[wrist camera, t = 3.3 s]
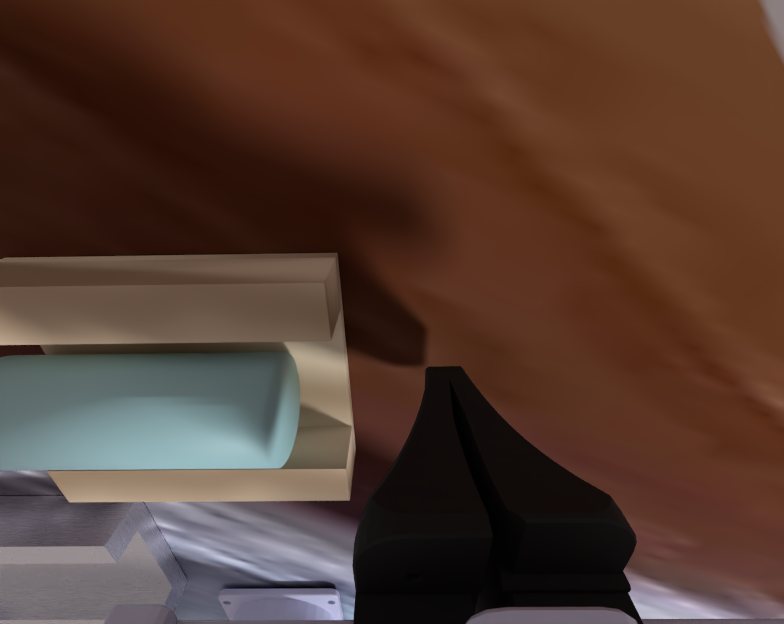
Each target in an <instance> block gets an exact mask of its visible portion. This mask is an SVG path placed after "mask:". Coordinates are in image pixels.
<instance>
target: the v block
mask: <svg viewBox="0 0 784 624" xmlns="http://www.w3.org/2000/svg"><path fill="white" fill-rule="evenodd" d="M187 582H188V580H187V578H186V577H185V575H184V573H183V571H182V570H181V568H180V566H179V564H178V563H177V561H176V559H175V557H174V555H173V554H172V552H171V550H170V548H169V547H168V545H167V543H166V541H165V540H164V538H163V536H162V534H161V532H160V531H159V529H158V527H157V525H156V524H155V522H154V520H153V518H152V516H151V515H150V513H149V511H148V509H147V508H146V506H145V504H144V502H69V501H68V500H67V499H66V497H65V496H0V624H104V622H105V620H106V619H107V617H108V615H109V613H110V612H111V610H112V608H113V607H114V606H116V605H118V604H159V605H164V606H167V607H169V608H171V609H172V610H173V611H175V609H176V606H177V604H178V602H179V600H180V598H181V595H182V593H183V591H184V589H185V587H186V584H187Z"/></svg>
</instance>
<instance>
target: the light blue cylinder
mask: <svg viewBox="0 0 784 624" xmlns="http://www.w3.org/2000/svg"><path fill="white" fill-rule="evenodd" d="M299 412H300V383H299V375H298V370H297V366H296V363H295V360H294V358H293V356H292V355H291V354H290V353H288V352H250V353H162V354H74V355H11V356H5V357H0V471H6V470H139V469H272V468H281V467H282V466H283V465H284V464H285V463H286V462H287V460H288V458H289V456H290V454H291V451H292V448H293V445H294V442H295V438H296V433H297V428H298V421H299Z"/></svg>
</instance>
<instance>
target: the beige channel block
mask: <svg viewBox="0 0 784 624" xmlns="http://www.w3.org/2000/svg"><path fill="white" fill-rule="evenodd" d="M0 345H40V346H41V348H42V350H43V351H44V353H45V355H74V354H162V353H250V352H288V353H290V354H291V355H292V356H293V358H294V360H295V363H296V366H297V370H298V375H299V383H300V412H299V421H298V428H297V433H296V438H295V442H294V445H293V448H292V451H291V454H290V456H289V458H288V460H287V462H286V463H285V464H284V465H283V466H282V467H281V468H272V469H139V470H47V472H48V474H49V475H50V477H51V478H52V479H53V481H54V482H55V483H56V485H57V486H58V488H59V489H60V490H61V492H62V493H63V494H64V496H65V497H66V499H67V500H68V501H69V502H206V501H350V494H351V486H352V477H353V468H354V460H355V451H356V445H355V434H354V423H353V413H352V402H351V391H350V381H349V370H348V359H347V349H346V338H345V327H344V316H343V306H342V295H341V284H340V274H339V263H338V253H289V254H221V255H153V256H84V257H16V258H3V259H0Z"/></svg>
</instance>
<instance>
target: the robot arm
mask: <svg viewBox="0 0 784 624" xmlns="http://www.w3.org/2000/svg"><path fill="white" fill-rule="evenodd" d="M636 542H637V541H636V536H635V533H634V531H633V530H632V528H631V526H630V525H629V523H628V521H627V520H626V518H625V516H624V515H623V513H622V512H621V510H620V509H619V507H618V506H617V505H616V503H615V502H614V500H613V499H612V497H611V496H610V495H608V494H606V493H605V492H603V491H601V490H599V489H598V488H596V487H594V486H592V485H591V484H589V483H587V482H585V481H584V480H582V479H580V478H579V477H577V476H575V475H574V474H572V473H571V472H569V471H568V470H566V469H565V468H563V467H562V466H560V465H559V464H557V463H556V462H554V461H553V460H551V459H550V458H549V457H547V456H546V455H545V454H543V453H542V452H541V451H539V450H538V449H537V448H536V447H534V446H533V445H532V444H530V443H529V442H528V441H527V440H526V439H524V438H523V437H522V436H521V435H520V434H519V433H518V432H517V431H515V430H514V429H513V428H512V427H511V426H510V425H509V424H508V423H507V422H506V421H505V420H504V419H503V418H502V417H501V416H500V415H499V413H498V412H497V411H496V410H495V409H494V408H493V407H492V406H491V405H490V403H489V402H488V401H487V400H486V399H485V398H484V396H483V395H482V394H481V393H480V391H479V390H478V389H477V388H476V386H475V385H474V384H473V382H472V381H471V380H470V378H469V377H468V375H467V374H466V373H465V371H464V370H463V368H462V367H461V366H450V367H428V368H427V369H426V373H425V391H424V395H423V399H422V403H421V406H420V409H419V412H418V415H417V418H416V420H415V423H414V425H413V428H412V430H411V432H410V434H409V437H408V439H407V441H406V443H405V445H404V446H403V448H402V450H401V452H400V454H399V456H398V457H397V459H396V461H395V462H394V464H393V465H392V467H391V468H390V470H389V471H388V473H387V475H386V476H385V477H384V479H383V480H382V482H381V483H380V484H379V485H378V487H377V488H376V489H375V491H374V492H373V493H372V494H371V496H370V497H369V500H368V502H367V505H366V507H365V510H364V512H363V515H362V517H361V520H360V523H359V526H358V529H357V533H356V537H355V543H354V554H353V573H354V581H355V589H356V597H355V609H354V620H344V619H343V613H342V608H341V602H340V596H339V592H338V590H336V589H333V588H278V589H222V590H221V591H220V592H219V595H218V600H219V601H220V603H221V605H222V607H223V609H224V611H225V613H226V615H227V617H228V619H229V620H188V621H177V618H176V615H175V613H174V611H173V610H172V609H171V608H169V607H167V606H164V605H159V604H118V605H116V606H114V607H113V608H112V610H111V612H110V613H109V615H108V617H107V619H106V620H105V622H104V624H784V619H641V618H640V616H639V614H638V612H637V610H636V608H635V606H634V604H633V602H632V600H631V598H630V596H629V594H628V592H630V590H631V587H630V584H629V582H628V580H627V578H626V576H625V574H624V572H623V570H624V568H625V566H626V564H627V563H628V561H629V559H630V557H631V555H632V554H633V552H634V549H635V545H636Z"/></svg>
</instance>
